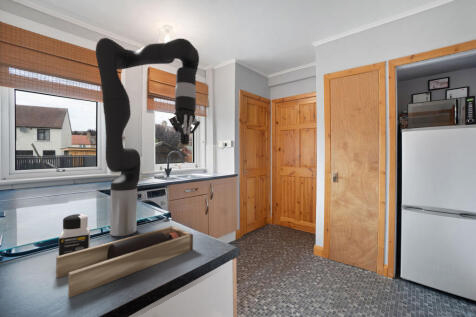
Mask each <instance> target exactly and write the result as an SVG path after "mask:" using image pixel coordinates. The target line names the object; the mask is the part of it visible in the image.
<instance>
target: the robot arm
mask: <svg viewBox="0 0 476 317" xmlns="http://www.w3.org/2000/svg"><path fill="white" fill-rule="evenodd" d="M95 58H96V62H97V67H98V71H99V76H100V84H101V93H102V106H103V108H102V109H103V113H104V124H105V126H104V127H105V161H106V162H105V163H106V166H107V168H108V170H110V172H112V173H120V175H119V177H117V178H116V179H114V180H113V181H112V182H111V183H110V208H109V210H110V219H109V220H110V221H109V222H110V223H109V234H110V236H113V237H124V236H129V235H132V234H134V233H136V232H137V221H138V220H137V215H138V213H137V212H138V184H139V182H140V174H141V156H140V153H139V152H138V150H136V149H135V148H129V147H124V142H123V141H124V140H123V136H124V131H125V129H126V127H127V125H128V123H129V120H130V118H131V104H130V103H131V101H130V98H129V95H128V93H127V90H126V88H125V87H124V86H125V85H124V84H123V82H122V80H121V78H120V76H119V73H118V70H125V69H131V68H134V67H140V66H145V65H146V66H147V65H167V64H172V63H173V62H174V61H175V60H180V61H181V67H179V68H177V70H176V73H175V74H176V75H175V89H174V110H175V111H174V114H173V116H170V117H168V121H169V123H170V124H171V126H172V128H173V130H175V132H176V133H179V134H180V140H179V141H180V143H181V145H182V146H188V145H189V143H190V135H191V134H194V133H195V131H196V130H197V128H198V127H199V126H200V124H201V121H200V120H197V119H196V114H195V113H196V110H197V109H196V108H197V107H196V106H197V105H196V104H197V88H196V87H197V86H196V81H197V80H196V78H197V77H196V76H197V72H198V67H199V64H200V54H199V52H198V49H197V48H196V47H195V46H194V45H193V44H192V42H190V41H189V40H188V39H186V38H182V37H181V38H176V39H175V38H174V39H172V40H170V41H167V42H162V43H161V42H160V43H158V42H157V43H149V44H145V46H143V47H141V48H139V49H137V50H131V49H128V48H127V49H126V48H125V47H124V46H122V45H120V44H119V43H117V42H116V41H114V40H112V39H110V37H109V38H108V37H102V38H100V39H99V40H98V41H97V43H96V45H95Z"/></svg>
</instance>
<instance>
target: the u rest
mask: <svg viewBox="0 0 476 317" xmlns="http://www.w3.org/2000/svg"><path fill="white" fill-rule="evenodd" d="M173 232H175V233H177V235H178V237H179V238H176V239H172V240H169V241H166V242H163V243H160V244H157V245H154V246H150V247H147V248H144V249H141V250H138V251H135V252H132V253H129V254H125V255H122V256H119V257H116V258H113V259H110V260H108V259H107V252H108V248H109V246H110V245H111V244H113V243H117V242H121V241H126V240H130V239H134V238H139V237H143V236H147V235H152V234H156V233H164V234H165V235H166V234H169V233H173ZM192 250H194V234H192V233H191V232H188V231H185V230H183V229H180V228H178V227H175V226H173V225H170V226H167V227H162V228H159V229H156V230H151V231H148V232H144V233H141V234H136V235H133V236H132V235H131V236H129V237H126V238H122V239H118V240H114V241H111V242H107V243H103V244H99V245H95V246H92V247H91V246H90V248H87V249H83V250H79V251H76V252H72V253H68V254H64V255H61V256H59V255H57V256H56V257H55V258H56V261H55V262H56V264H55V265H56V267H55V268H56V269H55V270H56V271H55V273H56V274H55V277H56V278H57V279H59V278H62V277H65V276H68V291H67V293H68V297H69V298H73V297H75V296H77V295H80V294H83V293H86V292H88V291H91V290H93V289H96V288H98V287H100V286H102V285H103V286H104V285H106V284H108V283H110V282H113V281H116V280H119V279H121V278H124V277H127V276H130V275H132V274H133V273H137V272H139V271H141V270H144V269H146V268H149V267H152V266H154V265H157V264H159V263H162V262H165V261H167V260H170V259H172V258H175V257H177V256H180V255H183V254H184V253H188V252H190V251H192Z"/></svg>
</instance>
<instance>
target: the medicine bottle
mask: <svg viewBox="0 0 476 317" xmlns="http://www.w3.org/2000/svg"><path fill="white" fill-rule="evenodd" d="M88 217H89V216H88V215H86V214H83V213H75V214H70V215H67V216H65V217H64V218H63V219H62V231H61V233H60V234H59V235H60V236H59V237H58V256H61V255H64V254H68V253H72V252H76V251H79V250H83V249H87V248H91V246H90V245H91V244H90V242H91V240H90V239H91V227H90V226H88V223H89V222H88V221H89V220H88Z"/></svg>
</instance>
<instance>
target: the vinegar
mask: <svg viewBox="0 0 476 317" xmlns="http://www.w3.org/2000/svg"><path fill="white" fill-rule="evenodd" d="M176 238H179V237H178V235H177V233H175V232H173V233H169V234H166V235H165V234H164V233H156V234H152V235H147V236H143V237H139V238H134V239H130V240H126V241H121V242H117V243H113V244H111V245H110V246H109V248H108V252H107V259H108V260H110V259H113V258H116V257H119V256H122V255H125V254H129V253H132V252H135V251H138V250H141V249H144V248H147V247H150V246H154V245H157V244H160V243H163V242H166V241H169V240H172V239H176Z"/></svg>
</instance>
